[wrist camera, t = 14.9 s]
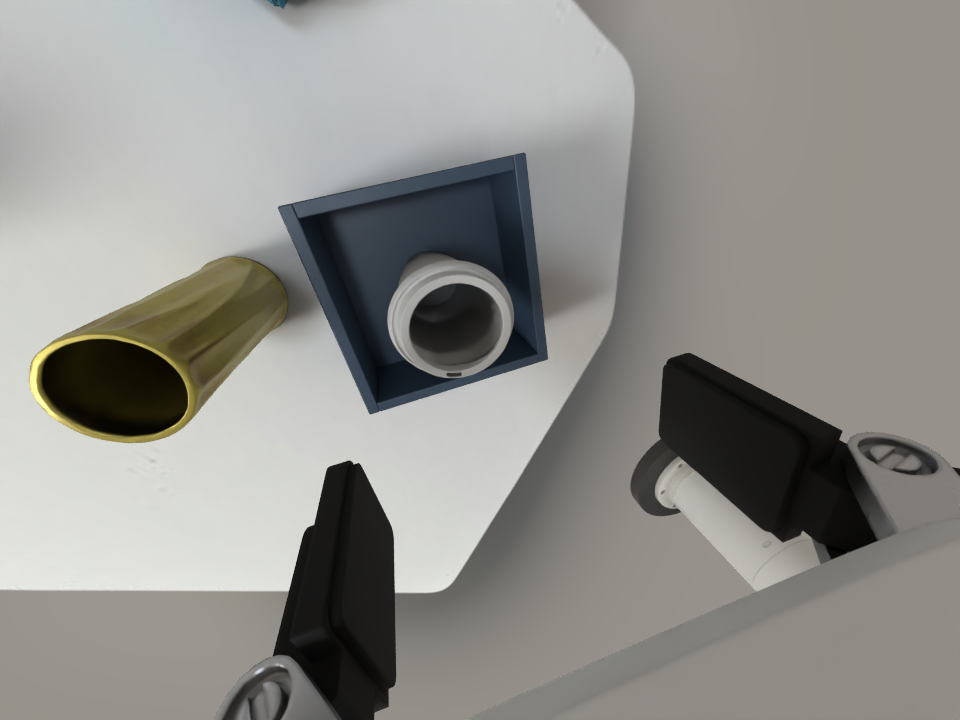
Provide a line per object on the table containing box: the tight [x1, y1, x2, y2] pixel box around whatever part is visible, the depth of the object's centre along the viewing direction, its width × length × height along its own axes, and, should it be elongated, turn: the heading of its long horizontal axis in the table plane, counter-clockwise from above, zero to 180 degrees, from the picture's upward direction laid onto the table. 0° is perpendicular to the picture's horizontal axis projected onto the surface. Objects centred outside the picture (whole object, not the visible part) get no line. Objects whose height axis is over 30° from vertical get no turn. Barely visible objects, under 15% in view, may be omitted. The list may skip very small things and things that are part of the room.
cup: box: [387, 251, 514, 378], centre depth 23 cm, size 7×7×12 cm
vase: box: [29, 257, 288, 443], centre depth 20 cm, size 6×6×14 cm
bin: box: [278, 153, 548, 414], centre depth 26 cm, size 15×15×7 cm
